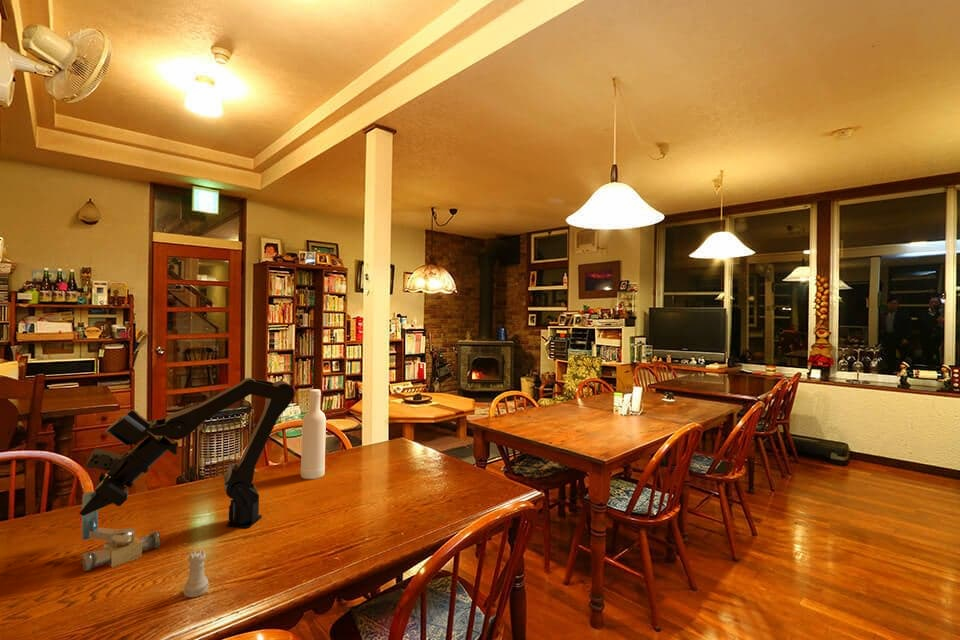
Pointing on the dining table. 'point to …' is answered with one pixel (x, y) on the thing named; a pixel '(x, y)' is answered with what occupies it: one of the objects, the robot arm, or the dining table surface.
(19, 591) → the dining table surface
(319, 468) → the bottle
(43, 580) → the dining table surface
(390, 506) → the dining table surface
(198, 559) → the rook chess piece
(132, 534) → the lever
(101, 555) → the valve body
